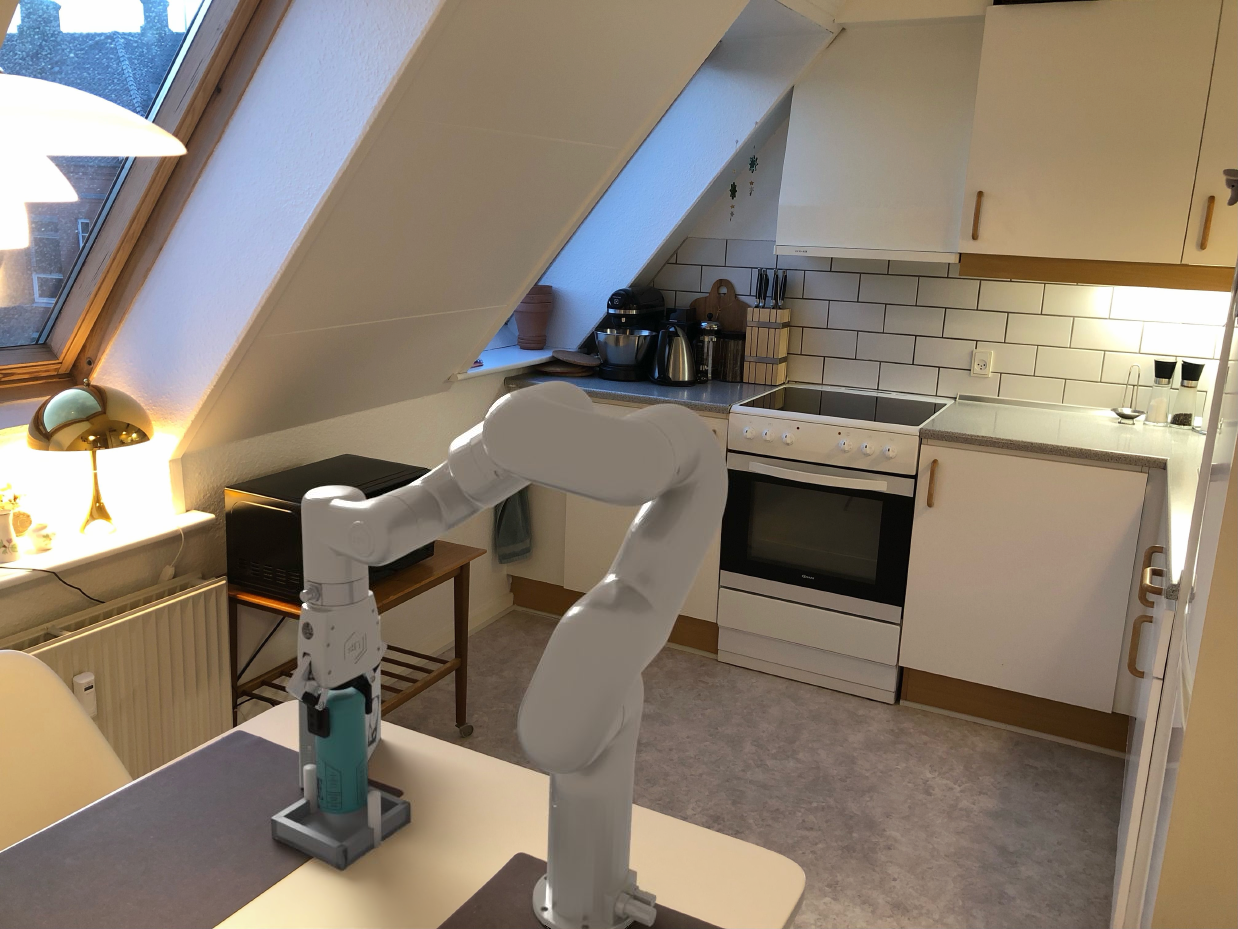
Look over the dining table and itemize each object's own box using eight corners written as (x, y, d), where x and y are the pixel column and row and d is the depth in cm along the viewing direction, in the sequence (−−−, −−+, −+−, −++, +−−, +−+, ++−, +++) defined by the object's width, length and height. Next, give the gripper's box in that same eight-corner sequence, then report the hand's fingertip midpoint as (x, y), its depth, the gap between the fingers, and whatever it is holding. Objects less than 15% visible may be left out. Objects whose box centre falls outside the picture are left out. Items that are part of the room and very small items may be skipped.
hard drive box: (354, 792, 136) (351, 658, 131) (298, 790, 136) (293, 655, 131) (382, 736, 151) (381, 614, 146) (333, 734, 151) (329, 611, 146)
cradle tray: (412, 822, 129) (411, 774, 128) (343, 871, 119) (342, 820, 117) (341, 792, 135) (339, 746, 134) (270, 836, 125) (267, 787, 123)
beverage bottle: (379, 811, 127) (376, 667, 122) (333, 833, 122) (329, 684, 117) (351, 791, 131) (348, 651, 127) (306, 811, 126) (300, 666, 122)
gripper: (303, 617, 110) (309, 761, 115) (408, 574, 125) (410, 704, 129) (257, 602, 114) (264, 743, 118) (365, 563, 129) (368, 689, 133)
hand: (340, 721), depth 124 cm, fingers closed on beverage bottle, 6 cm apart
